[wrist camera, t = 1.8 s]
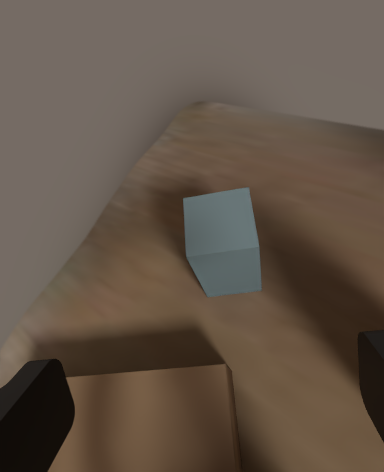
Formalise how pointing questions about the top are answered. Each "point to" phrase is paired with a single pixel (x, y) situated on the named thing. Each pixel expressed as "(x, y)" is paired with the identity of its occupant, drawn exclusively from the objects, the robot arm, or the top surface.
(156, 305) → the top surface
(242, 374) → the top surface
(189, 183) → the top surface
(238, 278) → the slate block
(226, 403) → the walnut block
